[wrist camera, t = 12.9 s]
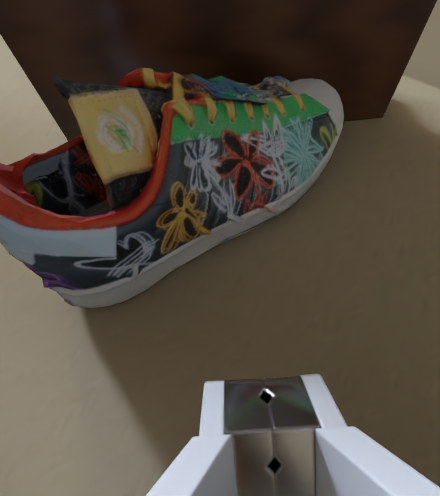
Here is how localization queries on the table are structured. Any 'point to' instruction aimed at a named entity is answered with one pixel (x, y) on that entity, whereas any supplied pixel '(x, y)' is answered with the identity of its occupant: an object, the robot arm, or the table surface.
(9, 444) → the table surface
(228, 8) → the wooden wall shelf
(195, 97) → the sneaker
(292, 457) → the robot arm
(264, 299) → the table surface
